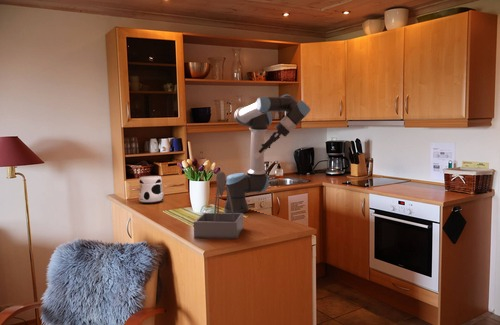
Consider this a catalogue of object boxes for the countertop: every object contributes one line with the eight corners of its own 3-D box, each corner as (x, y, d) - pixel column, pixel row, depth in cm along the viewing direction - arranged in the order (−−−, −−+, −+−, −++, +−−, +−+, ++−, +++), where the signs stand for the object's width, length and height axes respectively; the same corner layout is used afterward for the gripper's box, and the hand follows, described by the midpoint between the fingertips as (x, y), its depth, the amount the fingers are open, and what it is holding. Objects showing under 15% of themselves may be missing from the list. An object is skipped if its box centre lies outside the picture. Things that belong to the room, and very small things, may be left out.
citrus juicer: (235, 230, 212) (234, 171, 209) (223, 235, 204) (221, 173, 201) (217, 227, 218) (216, 170, 215) (205, 232, 210) (203, 172, 207)
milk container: (135, 202, 299) (133, 177, 297) (157, 199, 309) (156, 174, 307) (145, 205, 285) (143, 179, 283) (168, 202, 295) (167, 177, 294)
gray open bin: (204, 227, 223) (203, 212, 222) (243, 228, 220) (242, 213, 219) (194, 238, 203) (193, 221, 202) (237, 239, 200) (236, 222, 200)
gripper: (289, 132, 204) (259, 163, 207) (291, 131, 228) (264, 158, 232) (278, 121, 204) (248, 152, 207) (281, 121, 228) (254, 149, 232)
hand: (256, 155), depth 219 cm, fingers open, 13 cm apart
